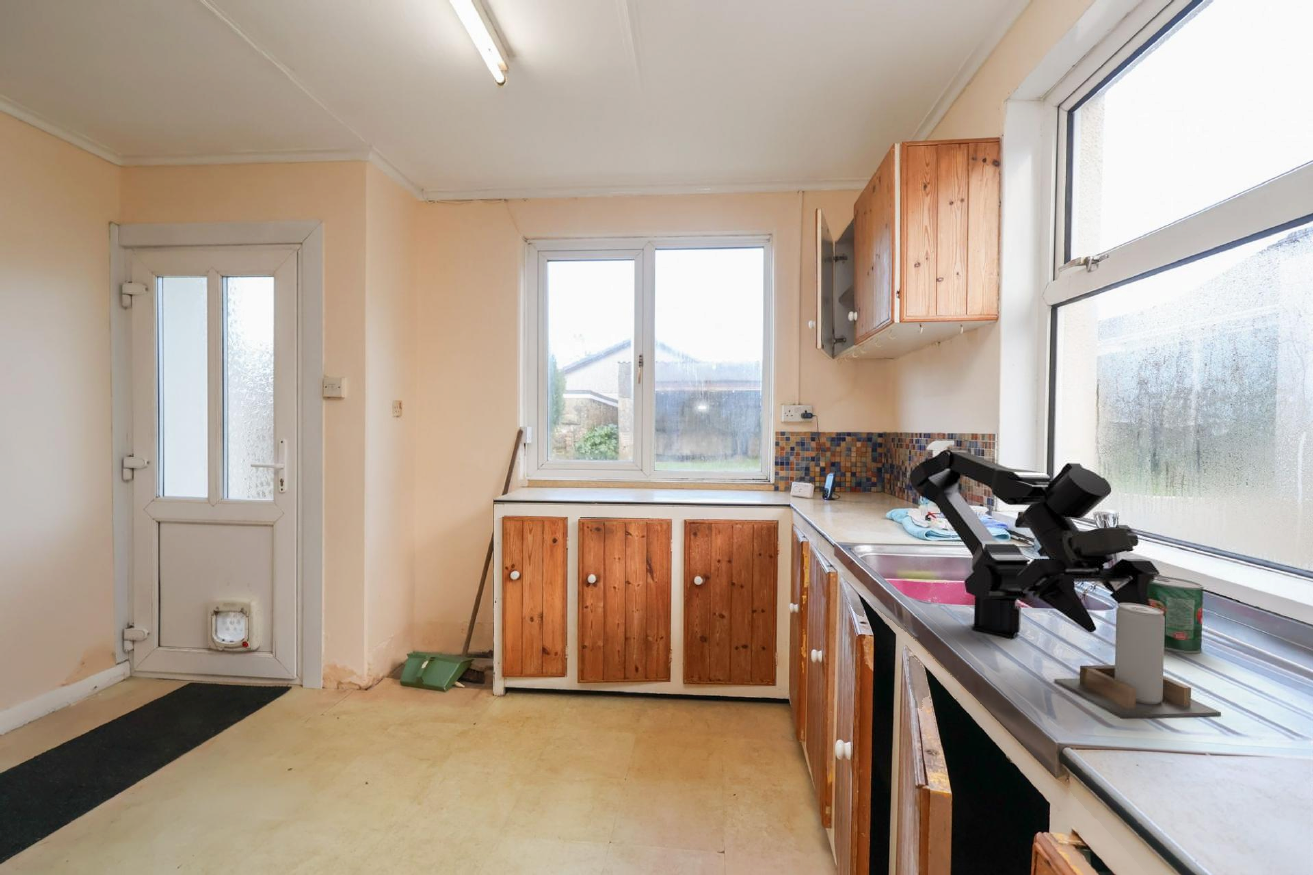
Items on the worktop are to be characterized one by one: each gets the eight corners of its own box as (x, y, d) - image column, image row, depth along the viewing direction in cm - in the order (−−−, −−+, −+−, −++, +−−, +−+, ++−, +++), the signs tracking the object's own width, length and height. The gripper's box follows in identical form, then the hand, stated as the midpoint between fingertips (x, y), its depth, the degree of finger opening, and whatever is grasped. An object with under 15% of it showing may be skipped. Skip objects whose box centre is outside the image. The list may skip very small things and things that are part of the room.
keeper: (1054, 681, 77) (1054, 661, 77) (1141, 679, 78) (1142, 659, 78) (1121, 718, 67) (1122, 695, 67) (1220, 715, 68) (1221, 692, 68)
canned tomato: (1215, 653, 89) (1217, 587, 89) (1171, 653, 89) (1173, 587, 89) (1167, 635, 97) (1169, 575, 97) (1126, 635, 97) (1128, 574, 97)
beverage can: (1172, 708, 69) (1174, 615, 69) (1129, 703, 70) (1131, 612, 70) (1146, 690, 74) (1148, 604, 74) (1105, 686, 75) (1108, 601, 75)
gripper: (1034, 504, 78) (1102, 603, 67) (1148, 505, 80) (1232, 602, 69) (993, 546, 86) (1048, 641, 75) (1098, 547, 88) (1166, 639, 77)
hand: (1123, 630), depth 74 cm, fingers open, 9 cm apart
